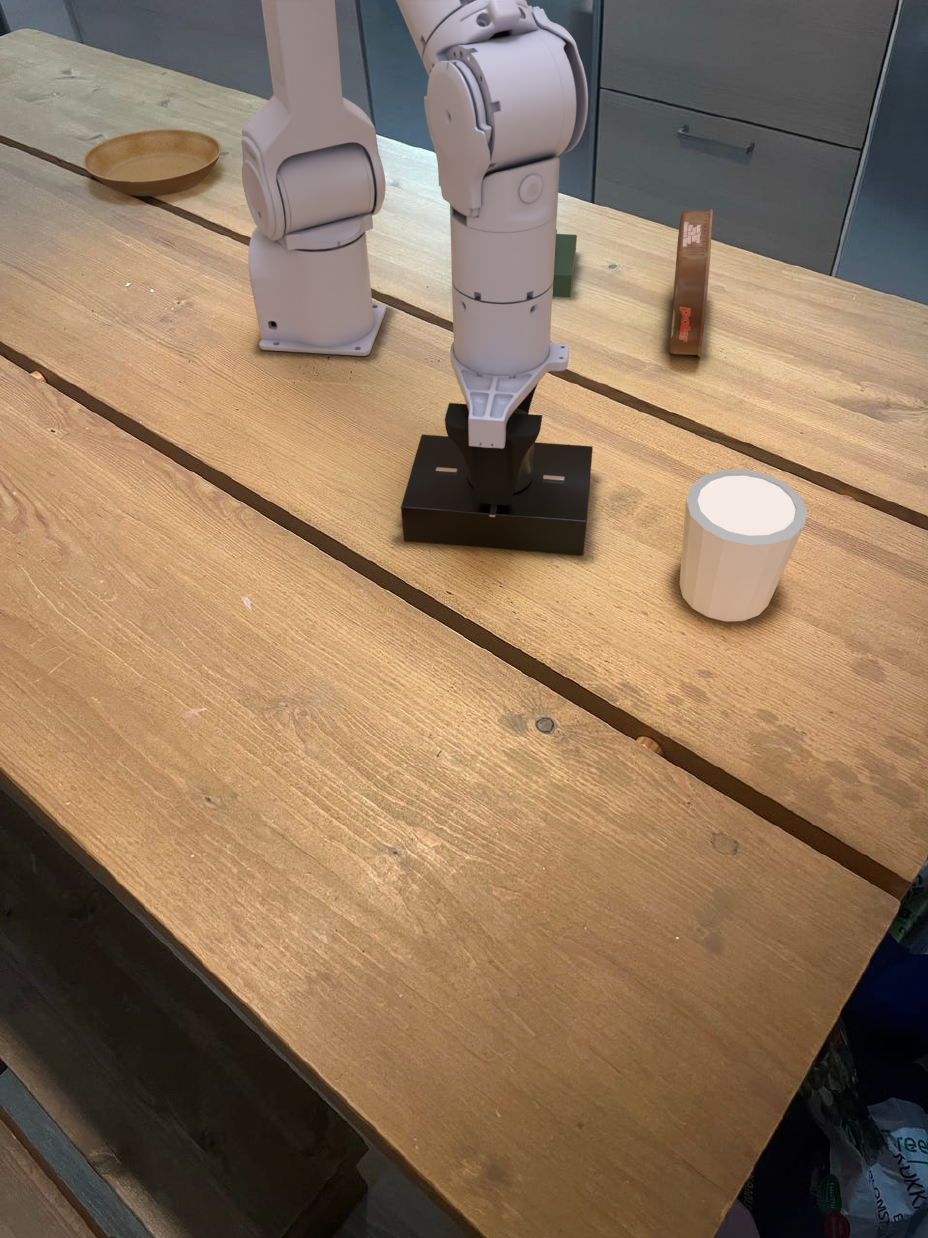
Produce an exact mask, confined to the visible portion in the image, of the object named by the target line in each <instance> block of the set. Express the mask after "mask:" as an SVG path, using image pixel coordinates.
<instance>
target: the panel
mask: <svg viewBox="0 0 928 1238" xmlns="http://www.w3.org/2000/svg"><path fill="white" fill-rule="evenodd" d="M593 448H594V447H593V446H592V445H579V444H564V443H549V442H538V441H537V442H536V441H535V443H534V460H533V477H532V480H531V482H530V483H529V485H528V486H527V487H526V488H524V489H523V490H521V491H519V492H516V493H514V495H513V497H512V500H511V502H510V504H509V505H497V504H485V503H479V502H478V499H477V497H476V494H475V491H474V488H473V486H472V485H471V484H470V482H469V480H468V478H467V465H466V462H465V460H464V458H463V456H462V454H461V452H460V451H459V449H458V448H457V446H456V445H455V444H454V442H453V441H452V440H451V439H450V438H449V437H448V435H439V434H438V435H436V434H421V436H420V438H419V442H418V445H417V449H416V453H415V456H414V460H413V462H412V463H413V464H412V467H411V470H410V474H409V477H408V481H407V484H406V488H405V491H404V494H403V498H402V501H401V506H400V512H401V514H400V515H401V524H402V525H401V526H402V536H403V537H402V539H403V541H404V542H411V543H421V544H422V543H423V544H425V543H426V544H435V545H437V544H438V545H449V546H461V547H470V548H471V547H472V548H483V549H485V548H486V549H497V550H509V551H520V552H534V553H544V554H545V553H546V554H558V555H570V556H584V555H585V545H586V534H587V525H588V511H589V499H590V488H591V487H590V486H591V485H590V484H591V475H592V473H591V472H592V462H593Z"/></svg>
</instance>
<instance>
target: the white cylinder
mask: <svg viewBox="0 0 928 1238" xmlns="http://www.w3.org/2000/svg"><path fill="white" fill-rule="evenodd" d="M807 515H808V509H807V507H806V504H805V502H804V500H803V497H802V495H800V494H799V492H798V491H796V490H795V489H794V488H793V487H792V486H791V485H790V484H789V483H787V482H786V481H784V480H782V479H779V478H777V477H775V476H774V475H770V474H768V473H767V472H761V471H757V470H751V469H747V468H735V469H734V468H733V469H730V468H729V469H720V470H717V471H714V472H710V473H708V474H704V475H702V476H701V477H700V478H699V479H698V480H696V481H695V482H694V483H692V484H691V485H690V486H689V490H688V492H687V495H686V499H685V509H684V521H683V535H682V546H681V547H682V548H681V560H680V572H679V588H680V592H681V595H682V599H684V600H685V601H686V603H687V604H688V605H689V606H690V608H691V609H693V610H695V611H696V612H698V613H699V614H702V615H703V616H705V617H707V618H709V619H714V620H718V621H722V622H744V621H747V620H750V619H752V618H755V617H758V616H759V615H761V614H762V613H763V612H764V610H765V609H766V608H768V606H769V604H770V602H771V601H772V600H771V599H772V597H773V595H774V593H775V592H776V589H777V587H778V585H779V582H780V580H781V579H782V576H783V573H784V571H785V569H786V567H787V565H788V563H789V561H790V558H791V556H792V555H793V551H794V549H795V547H796V545H797V543H798V541H799V538H800V536H801V534H802V532H803V530H804V528H805V525H806V519H807Z"/></svg>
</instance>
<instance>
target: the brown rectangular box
mask: <svg viewBox="0 0 928 1238" xmlns="http://www.w3.org/2000/svg"><path fill="white" fill-rule="evenodd" d="M713 214H714V210H713V209H709V210H685V211H682V213H680V220H679V227H678V236H677V244H676V245H677V246H676V259H675V271H674V284H673V308H672V316H671V323H670V324H671V325H670V335H669V336H670V337H669V348H668V350H669V353H670V354H673V355H683V356H684V355H686V356H697V357H701V356H702V348H703V339H704V331H705V321H706V312H707V300H708V293H709V279H710V278H709V277H710V266H711V252H712V251H711V249H712V233H713V216H714V215H713Z"/></svg>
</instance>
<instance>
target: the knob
mask: <svg viewBox="0 0 928 1238" xmlns="http://www.w3.org/2000/svg"><path fill="white" fill-rule="evenodd" d="M513 413H518V414H528V413H526V412H525V411H523V410H521V409H518V408H516V409H515V410H514V412H513ZM533 460H534V444H533V445H532V446H531V447H530V449H529V450H528V452H527V453H526V455H525V457H524V459H523V461H522V464H521V467H520V470H519V474H518V479H517V483H516V487H515V491H514V493H516V492H519V491H521V490H523V489H524V488H526V487H527V486H528V485H529V483H530V482H531V480H532V477H533ZM467 478H468V480H469V482H470V484H471V485H472V481H471V477H470V474H469V471H468V467H467ZM472 486H473V485H472Z"/></svg>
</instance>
